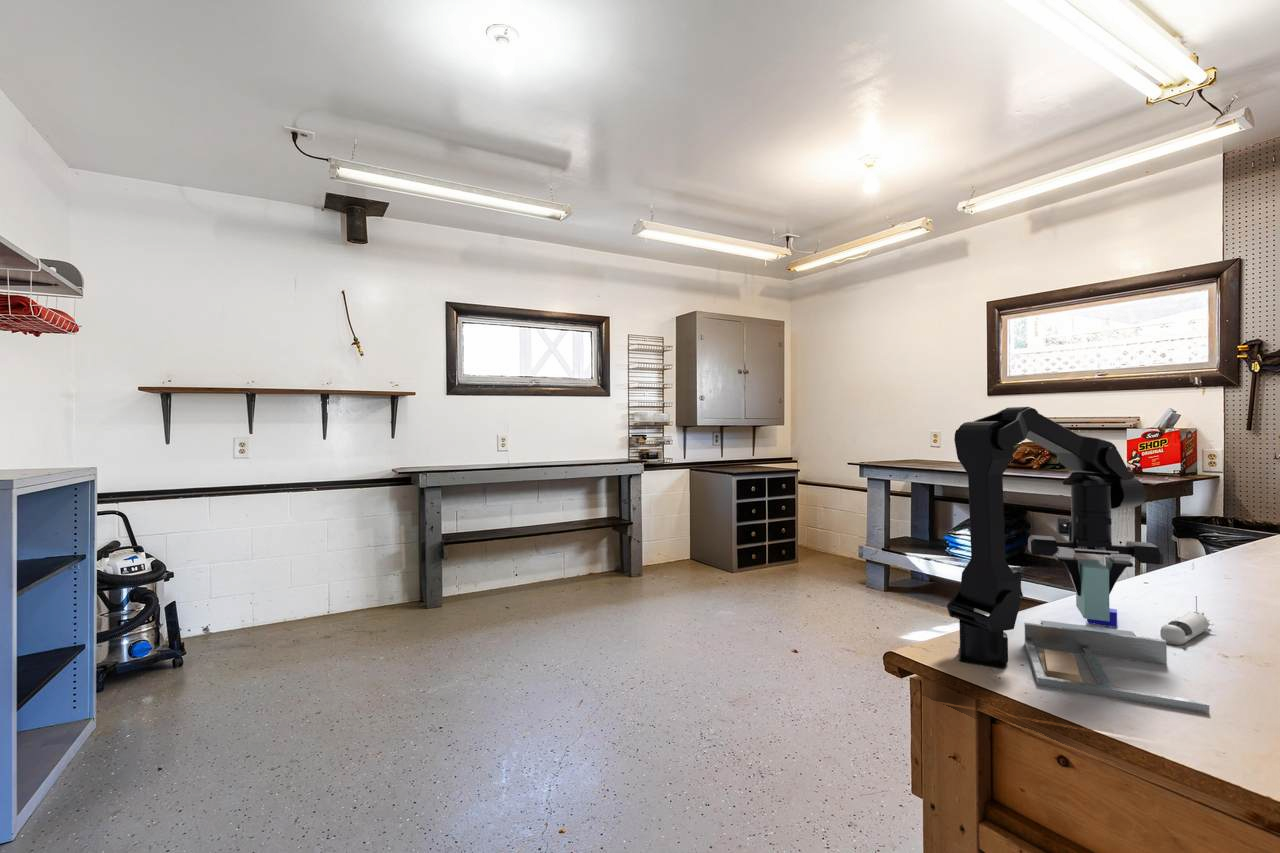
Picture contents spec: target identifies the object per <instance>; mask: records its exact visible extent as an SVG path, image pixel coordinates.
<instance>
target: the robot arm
mask: <svg viewBox="0 0 1280 853" xmlns="http://www.w3.org/2000/svg"><path fill="white" fill-rule="evenodd" d="M1025 440H1029V441H1030V442H1032V443H1034V444H1036V445H1038V446H1040V447H1042V448H1044V449H1046V450H1048V451H1049V452H1051V453H1053V454H1054V455H1056V458H1057V461H1058V462H1059V464H1061V465H1062V466H1064V467H1065V468H1066V469H1067V470H1069V471H1070V472H1071V473H1070V475H1068V476H1067V477H1066V478H1065V479H1064V480H1063V481H1062V485H1063V486H1070V503H1071V504H1070V506H1071V507H1070V508H1071V509H1070V512H1071V513H1070V514H1071V515H1070V516H1071V521H1070V518H1066V517H1065V518H1064V517H1057V518H1056V520H1055V521H1056V522H1055V523H1056V536H1059V537H1060V536H1061V537H1068V541H1061V540H1059V541H1058V540H1057V539H1055V537H1054V536H1053V535H1052V536H1051V535H1049V536H1048V535H1039V534H1038V535H1037V534H1036V535H1035V534H1031V535H1030V536H1029V537H1028V539H1027V549H1028V552H1029V553H1030V554H1031V555H1035V556H1046V557H1054V558H1055V560H1056V561H1058V562H1062V563H1063V564H1064V566H1065V569H1066V570H1067V572H1068V574H1069V577H1070V580H1071V581H1072V582H1071V583H1072V585H1073V588H1074V589H1075V594H1076V593H1077V595H1078V596H1081V584H1080V576H1079V568H1078V560H1077V559H1076V558H1077V557H1076V556H1075V555H1076V554H1088V555H1089V554H1090V555H1101V556H1104V561H1105V562H1104V563H1105V564H1104V565H1105V566H1106V567H1107V568H1108V569H1109V596H1110V595H1111V592H1112V591H1113V588H1114V587H1115V584H1116V583H1117V580H1118V579H1119V577H1121V575H1122V573H1124V571H1125V570H1126V568H1133V567H1134V563H1132V561H1131V560H1133V558H1134V559H1135V560H1136V561H1138V562H1139V563H1140V564H1149V565H1164V553H1163V550H1162V549H1161V548H1159V547H1158V546H1157V545H1155V544H1154V543H1152V542H1145V541H1144V542H1143V541H1129V540H1127V541H1126V542H1125V543H1126V544H1125V545H1118V544H1113V542H1112V535H1113V534H1112V509H1126V508H1137V507H1139V506H1141V505H1143V503H1144V502H1145V501H1146V499H1147V496H1148V491H1147V489H1146V487H1145V485H1144V484H1143V483H1142V482H1141V480H1139V479H1138V478H1136V477H1135V471H1133V470H1129V469H1128V467H1127V464H1126V462H1124V458H1122V456H1121V454H1120V452H1119V450H1118V448H1117V446H1116V445H1115V444H1114V443H1112V442H1111V441H1109V440H1105V439H1102V438H1098V437H1097V438H1096V437H1092V436H1084V435H1081V434H1077V433H1076V432H1074V431H1073V430H1070V429H1068V428H1067V427H1065V426H1064V425H1061V424H1060V423H1057V422H1055V420H1052V419H1050V418H1049V417H1047V416H1045V415H1043V414H1041V413H1039V412H1038V410H1037V409H1036V408H1033V407H1030V406H1011V407H1006V408H1004V409H1002V410H1000V411H998V412H996V413H992V414H990V415H988V416H984V417H982V418H979V419H976V420H975V419H974V421H973V420H972V421H967V422H963V423H962V424H960V426H959V427H958V428H957V429H956V430H955V433H954V445H955V450H956V455H957V456H956V457H957V460H958V461H959V463H960V465H961V466H962V468H963V469H964V470H965V472H966V473H967V481H968V482H967V483H968V484H967V485H968V508H969V534H970V536H969V537H970V538H969V539H970V560H969V561H968V563H967V565H966V566H965V568H964V569H963V571H962V572H961V578H960V587H959V588H958V589H957V591H956V592H955V593H954V594H953V596H952V597H951V600H949V602H948V603H947V605H946V608H947V609H946V610H947V612H948V615H949V617H950V618H955V619H957V620H959V621H958V622H959V623H958V624H959V648H958V654H959V655H958V661H959V662H960V663H965V664H971V665H976V666H982V667H989V668H995V669H1001V670H1005V669H1006V663H1008V662H1009V638H1008V634H1007V633H1006V632H1005V631H1010V630H1014V629H1015V626H1016V621H1017V617H1018V614H1019V610H1020V605H1021V598H1022V597H1023V596H1024V595H1023V591H1022V574H1021V572H1020V571H1019V570H1015V569H1011V567H1010V565H1009V564H1008V563H1007V560H1006V537H1005V535H1006V534H1005V514H1004V513H1005V507H1004V505H1005V504H1004V485H1003V481H1004V480H1003V475H1004V473H1005V472H1006V470H1007V468H1008V466H1009V465H1010V464H1011V462H1012V460H1013V458H1014V449H1015V448H1014V447H1015V446H1016V445H1018V444H1021V443H1022V442H1023V441H1025ZM975 610H977V611H981V612H984V613H987V614H989V615H986V614H984V613H981V612H977V611H975Z"/></svg>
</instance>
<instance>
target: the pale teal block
mask: <svg viewBox="0 0 1280 853" xmlns="http://www.w3.org/2000/svg"><path fill="white" fill-rule="evenodd" d="M1075 558H1076V559H1077V560H1078V568H1079V576H1080V584H1081V596H1078V595H1077V593H1076V592H1075V602H1076V603H1075V604H1076V605H1075V606H1076V608H1077V610H1078V611H1079V612H1080V614H1081V616H1082V617H1083V618H1084V619H1093V620H1101V621H1110V610H1109V608H1110V595H1109V569H1108V568H1107V567H1106V565H1105V564H1104V563H1103V562H1101V560H1100V559H1092V558H1091V559H1090V558H1078V557H1075Z"/></svg>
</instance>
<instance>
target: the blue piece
mask: <svg viewBox="0 0 1280 853" xmlns="http://www.w3.org/2000/svg"><path fill="white" fill-rule="evenodd" d="M1109 610H1110V621H1101V620H1093V619H1087V620H1086V623H1087V622H1089V623H1088V624H1092V623H1095V624H1094V625H1098V624H1100V625H1099V626H1104V625H1106V627H1110V626H1112V627H1113V628H1117V627H1118V610H1117V609H1115V608H1111V607H1109Z"/></svg>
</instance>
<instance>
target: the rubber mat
mask: <svg viewBox="0 0 1280 853" xmlns="http://www.w3.org/2000/svg"><path fill="white" fill-rule="evenodd" d="M1040 621H1041V622H1040V623H1041V625H1049V626H1057V627H1065V628H1073V629H1081V630H1089V631H1097V632H1105V633H1113V634H1121V635H1129V636H1137V635H1136V634H1135V632H1133V631H1132V630H1122V629H1115V628H1106V627H1099V626H1098V627H1097V626H1092V625H1091V626H1090V625H1083V624H1075V623H1073V624H1072V623H1068V622H1067V623H1065V622H1057V621H1049V620H1040Z"/></svg>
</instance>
